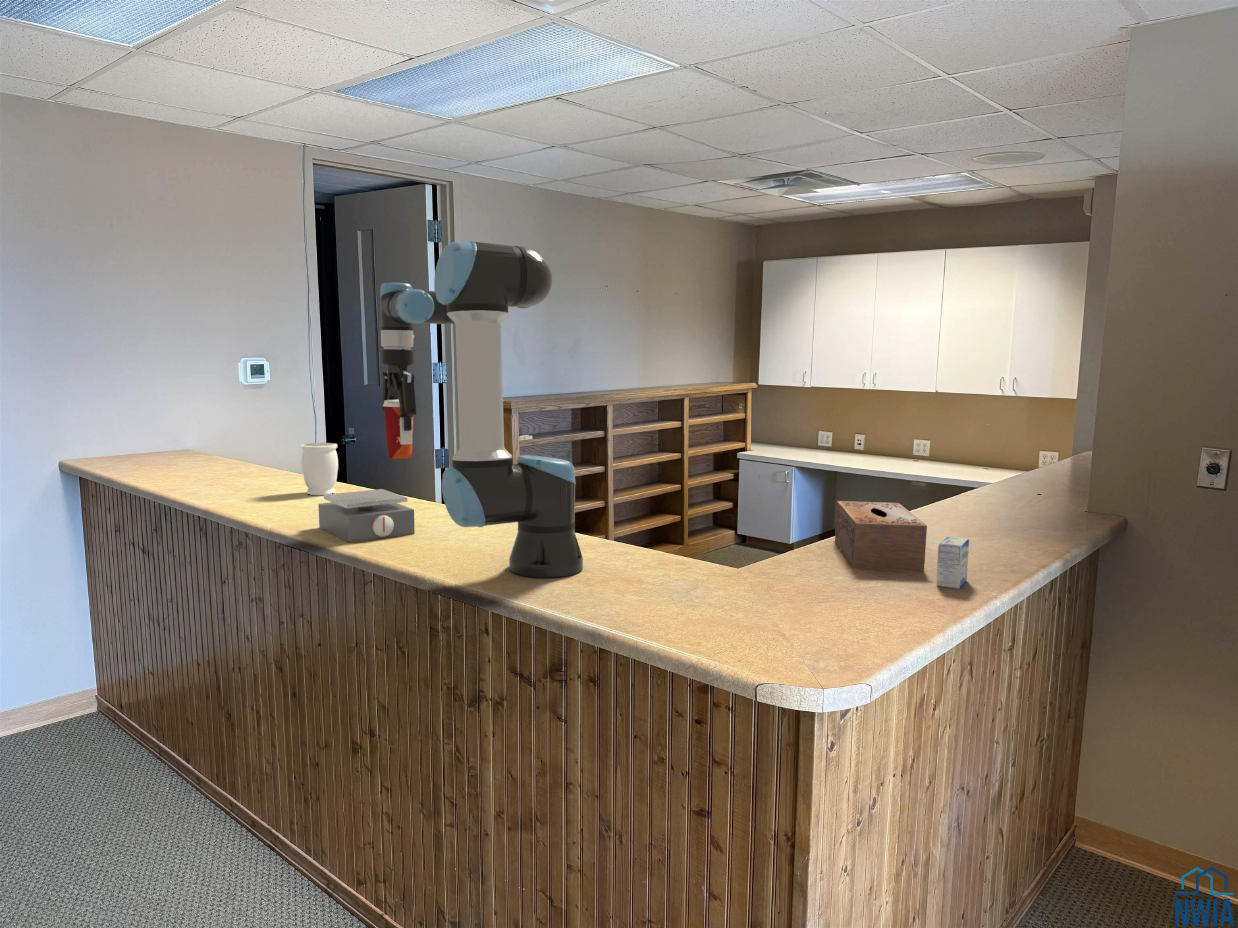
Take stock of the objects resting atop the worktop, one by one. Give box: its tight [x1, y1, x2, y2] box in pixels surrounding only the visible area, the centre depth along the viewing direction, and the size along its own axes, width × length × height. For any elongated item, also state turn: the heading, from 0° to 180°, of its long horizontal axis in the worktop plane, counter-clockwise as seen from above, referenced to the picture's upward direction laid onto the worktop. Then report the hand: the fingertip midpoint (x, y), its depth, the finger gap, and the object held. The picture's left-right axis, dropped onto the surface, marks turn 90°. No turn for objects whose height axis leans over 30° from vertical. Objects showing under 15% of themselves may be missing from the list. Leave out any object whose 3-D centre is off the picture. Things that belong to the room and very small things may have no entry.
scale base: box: [318, 501, 416, 544], centre depth 205 cm, size 21×16×6 cm
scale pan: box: [323, 488, 409, 508], centre depth 204 cm, size 15×15×2 cm
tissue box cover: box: [834, 500, 928, 572], centre depth 188 cm, size 26×14×10 cm, turn 174°
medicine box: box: [935, 536, 970, 590], centre depth 166 cm, size 8×4×9 cm, turn 148°
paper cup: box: [383, 398, 414, 460], centre depth 205 cm, size 8×8×14 cm
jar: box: [300, 442, 339, 496], centre depth 254 cm, size 11×10×15 cm
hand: (399, 442), depth 206 cm, fingers closed on paper cup, 8 cm apart
